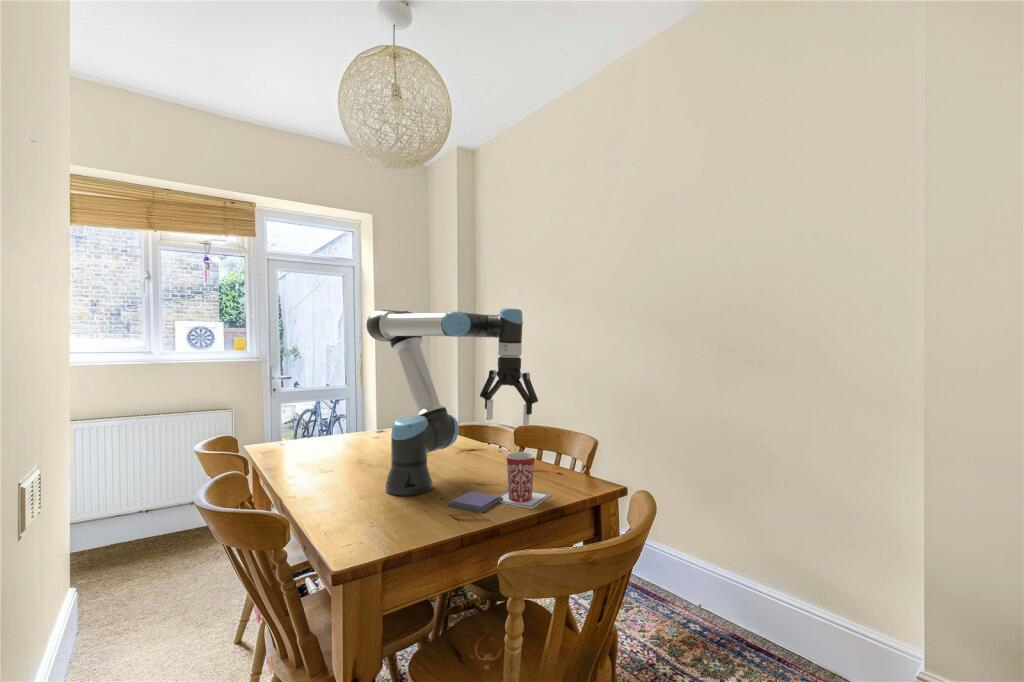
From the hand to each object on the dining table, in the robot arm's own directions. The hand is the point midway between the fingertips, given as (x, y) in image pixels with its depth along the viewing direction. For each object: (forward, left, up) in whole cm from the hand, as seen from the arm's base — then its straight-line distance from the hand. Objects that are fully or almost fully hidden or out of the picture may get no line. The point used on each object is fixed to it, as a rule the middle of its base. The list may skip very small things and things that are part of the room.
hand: (507, 422), depth 150 cm
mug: (+6, -1, -23) cm, 24 cm away
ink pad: (-4, -12, -23) cm, 27 cm away
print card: (+6, -1, -23) cm, 24 cm away
